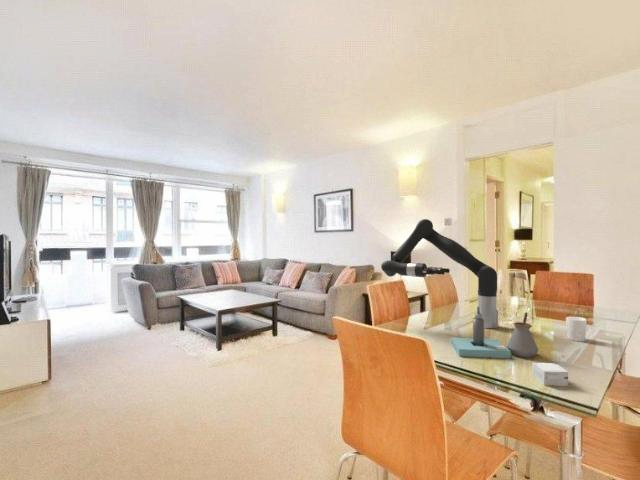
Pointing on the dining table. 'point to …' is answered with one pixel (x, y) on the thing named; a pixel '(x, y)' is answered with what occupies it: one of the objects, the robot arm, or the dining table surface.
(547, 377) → the small box
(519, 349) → the coffee pot
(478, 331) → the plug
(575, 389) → the dining table surface
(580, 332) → the white cup
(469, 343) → the socket plate
